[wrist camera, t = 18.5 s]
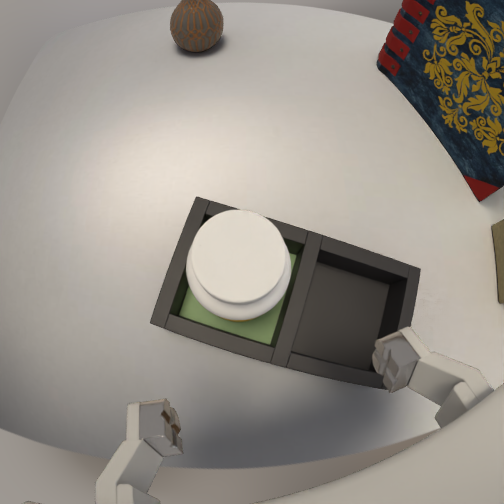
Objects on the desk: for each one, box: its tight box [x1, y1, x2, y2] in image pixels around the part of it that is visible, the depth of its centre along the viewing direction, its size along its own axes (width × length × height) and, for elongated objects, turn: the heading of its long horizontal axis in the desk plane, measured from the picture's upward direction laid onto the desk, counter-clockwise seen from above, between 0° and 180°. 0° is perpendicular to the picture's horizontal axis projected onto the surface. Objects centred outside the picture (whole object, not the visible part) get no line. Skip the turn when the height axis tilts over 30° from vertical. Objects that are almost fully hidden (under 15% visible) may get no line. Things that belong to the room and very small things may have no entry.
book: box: [377, 0, 504, 202], centre depth 21 cm, size 25×7×25 cm, turn 27°
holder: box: [150, 197, 421, 390], centre depth 24 cm, size 20×10×4 cm, turn 73°
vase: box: [170, 0, 223, 52], centre depth 30 cm, size 7×7×9 cm
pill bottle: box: [186, 210, 291, 322], centre depth 20 cm, size 6×6×11 cm
